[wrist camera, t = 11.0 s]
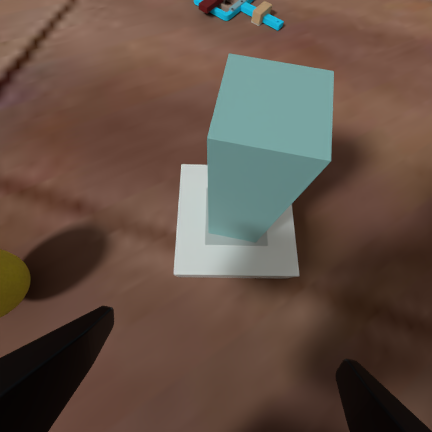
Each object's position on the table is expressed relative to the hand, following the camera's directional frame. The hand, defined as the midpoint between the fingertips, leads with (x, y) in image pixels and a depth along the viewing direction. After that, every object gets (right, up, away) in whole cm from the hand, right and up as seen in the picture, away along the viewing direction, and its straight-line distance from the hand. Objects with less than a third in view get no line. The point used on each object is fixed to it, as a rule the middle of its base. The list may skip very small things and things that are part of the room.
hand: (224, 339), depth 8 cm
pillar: (+1, +5, +10) cm, 12 cm away
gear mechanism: (+1, +37, +26) cm, 45 cm away
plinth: (+1, +4, +13) cm, 14 cm away
